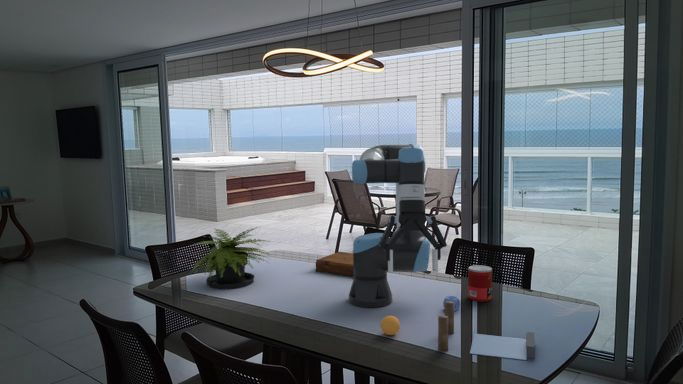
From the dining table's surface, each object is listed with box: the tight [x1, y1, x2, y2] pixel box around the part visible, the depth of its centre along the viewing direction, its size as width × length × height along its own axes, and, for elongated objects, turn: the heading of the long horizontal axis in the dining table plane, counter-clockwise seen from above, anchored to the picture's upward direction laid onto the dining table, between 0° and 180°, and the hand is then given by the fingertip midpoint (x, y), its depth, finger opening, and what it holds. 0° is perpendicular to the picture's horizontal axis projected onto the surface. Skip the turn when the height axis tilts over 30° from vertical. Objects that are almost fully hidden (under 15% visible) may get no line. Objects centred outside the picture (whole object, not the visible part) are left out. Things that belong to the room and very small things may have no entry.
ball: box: [380, 315, 401, 336], centre depth 149 cm, size 6×6×6 cm
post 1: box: [437, 314, 449, 353], centre depth 137 cm, size 3×3×9 cm
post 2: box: [444, 301, 455, 335], centre depth 149 cm, size 3×3×9 cm
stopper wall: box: [525, 331, 536, 359], centre depth 136 cm, size 2×10×3 cm, turn 161°
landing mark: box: [469, 333, 528, 361], centre depth 139 cm, size 14×14×1 cm
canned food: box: [467, 264, 493, 303], centre depth 180 cm, size 8×8×11 cm
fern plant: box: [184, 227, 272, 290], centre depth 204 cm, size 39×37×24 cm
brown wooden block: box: [315, 251, 354, 278], centre depth 222 cm, size 23×19×6 cm
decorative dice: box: [442, 295, 461, 312], centre depth 169 cm, size 4×4×4 cm
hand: (413, 272), depth 151 cm, fingers open, 13 cm apart
